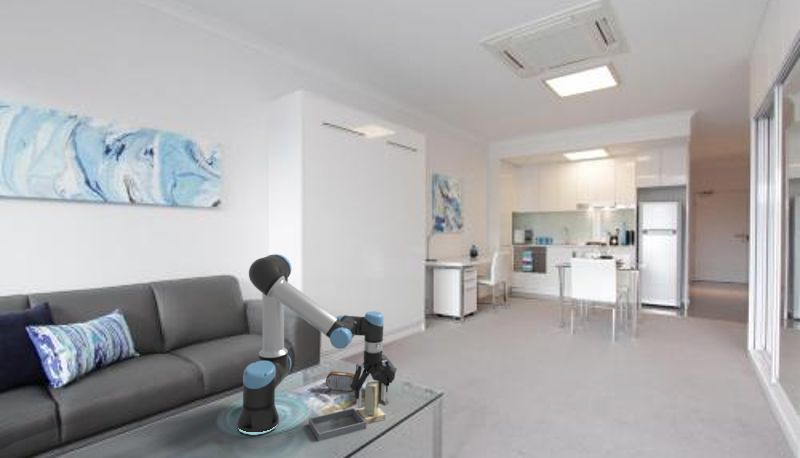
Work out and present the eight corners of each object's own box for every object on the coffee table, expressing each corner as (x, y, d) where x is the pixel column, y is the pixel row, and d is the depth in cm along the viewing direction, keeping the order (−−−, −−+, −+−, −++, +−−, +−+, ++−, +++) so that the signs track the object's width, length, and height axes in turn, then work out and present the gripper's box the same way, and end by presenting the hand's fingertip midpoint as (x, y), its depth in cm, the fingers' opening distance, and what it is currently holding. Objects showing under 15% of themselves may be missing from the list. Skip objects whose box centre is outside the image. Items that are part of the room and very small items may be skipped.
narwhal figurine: (403, 392, 191) (405, 354, 190) (385, 405, 178) (387, 365, 176) (378, 384, 198) (379, 348, 197) (359, 396, 185) (360, 357, 184)
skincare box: (374, 416, 164) (375, 386, 163) (364, 414, 165) (365, 385, 164) (378, 408, 170) (379, 380, 170) (368, 407, 171) (369, 379, 171)
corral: (318, 440, 149) (318, 434, 149) (308, 424, 160) (308, 418, 160) (366, 428, 159) (366, 422, 159) (353, 413, 170) (353, 407, 169)
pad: (365, 424, 162) (365, 419, 162) (356, 413, 169) (356, 409, 169) (385, 419, 166) (385, 414, 166) (375, 409, 174) (375, 404, 174)
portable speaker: (358, 390, 191) (358, 372, 190) (356, 393, 188) (357, 375, 187) (326, 387, 192) (327, 370, 192) (324, 390, 189) (325, 372, 189)
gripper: (350, 357, 157) (348, 413, 158) (402, 349, 169) (399, 400, 170) (343, 351, 164) (341, 404, 165) (393, 343, 175) (391, 393, 176)
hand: (371, 402), depth 167 cm, fingers open, 10 cm apart
